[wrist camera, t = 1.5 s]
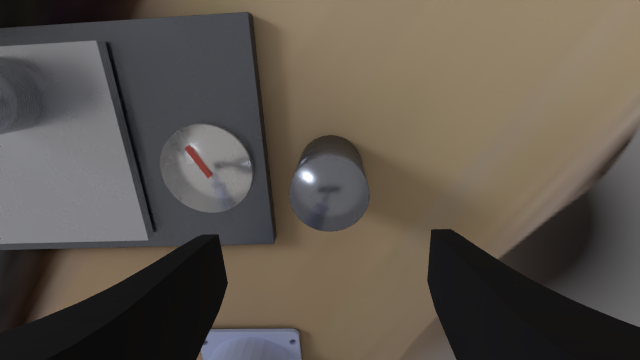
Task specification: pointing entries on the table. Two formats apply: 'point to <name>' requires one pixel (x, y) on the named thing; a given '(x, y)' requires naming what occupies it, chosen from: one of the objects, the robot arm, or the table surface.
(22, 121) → the cylinder
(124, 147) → the pan
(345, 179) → the cylinder
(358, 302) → the table surface
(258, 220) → the scale base
